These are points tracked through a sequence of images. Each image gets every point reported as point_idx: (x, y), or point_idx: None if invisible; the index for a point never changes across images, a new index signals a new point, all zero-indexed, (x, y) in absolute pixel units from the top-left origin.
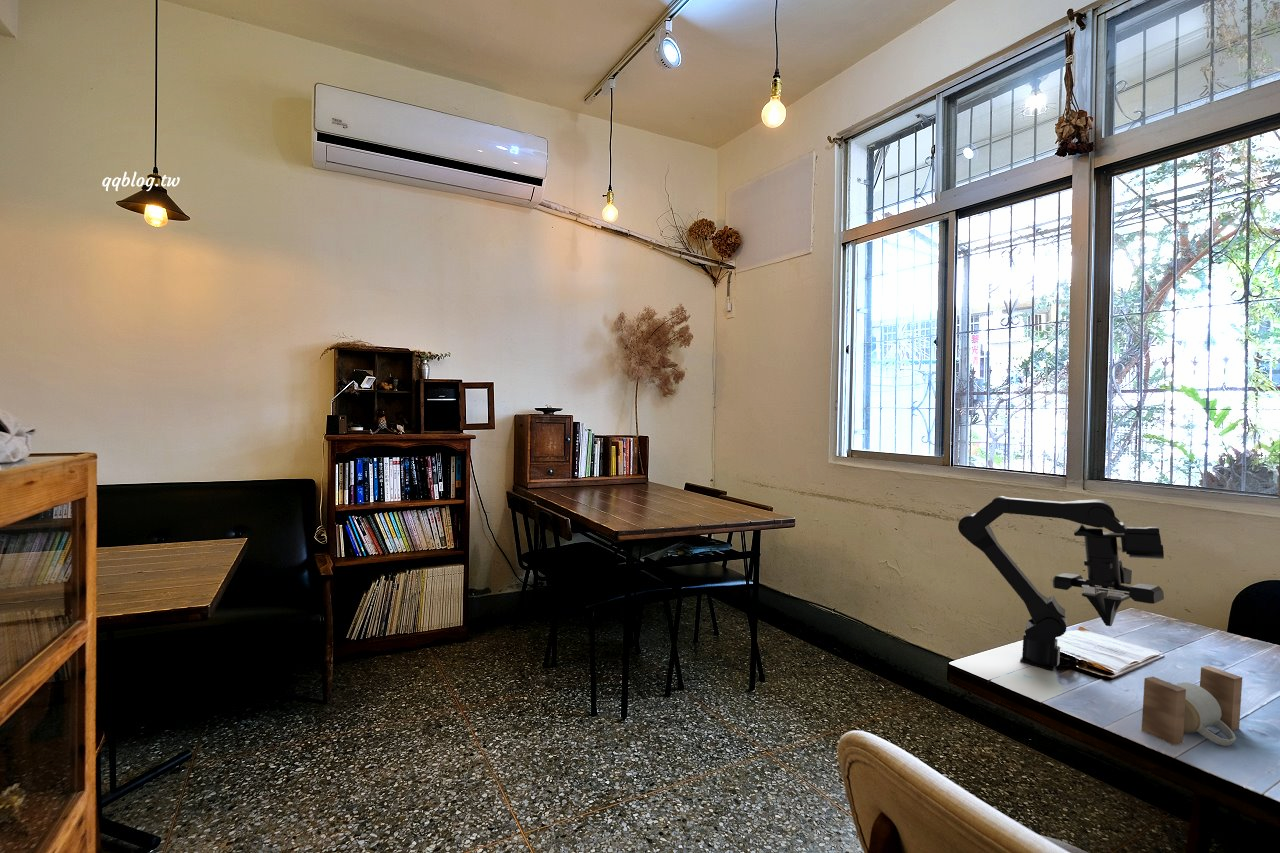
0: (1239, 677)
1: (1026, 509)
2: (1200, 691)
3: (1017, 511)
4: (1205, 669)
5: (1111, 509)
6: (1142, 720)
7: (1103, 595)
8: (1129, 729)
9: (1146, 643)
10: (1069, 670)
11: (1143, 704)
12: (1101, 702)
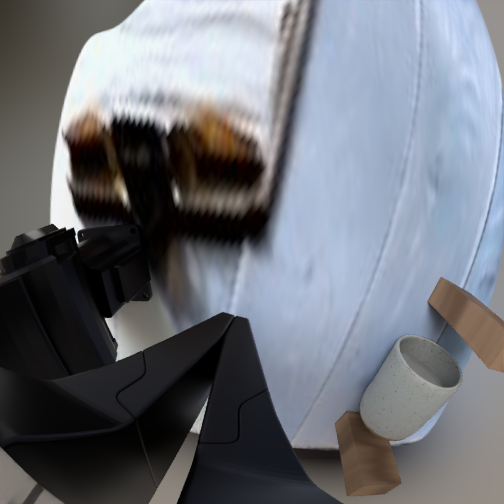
0: None
1: None
2: (444, 402)
3: None
4: (491, 368)
5: None
6: (337, 436)
7: (96, 500)
8: (320, 430)
9: None
10: (173, 251)
11: (341, 457)
12: (274, 382)
